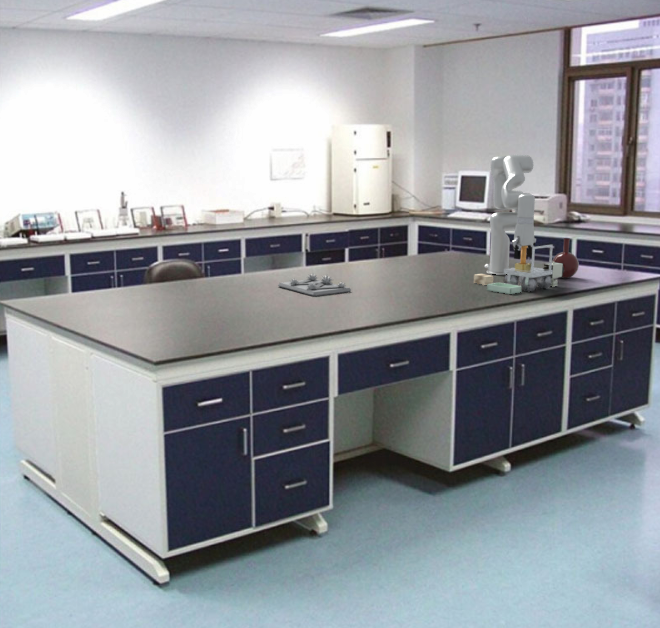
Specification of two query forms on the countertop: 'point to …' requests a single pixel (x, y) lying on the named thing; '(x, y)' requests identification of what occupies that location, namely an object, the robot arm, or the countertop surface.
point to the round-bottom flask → (567, 260)
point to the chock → (483, 279)
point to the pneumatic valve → (555, 272)
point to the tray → (504, 288)
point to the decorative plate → (315, 286)
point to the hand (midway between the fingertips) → (523, 257)
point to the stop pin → (523, 254)
